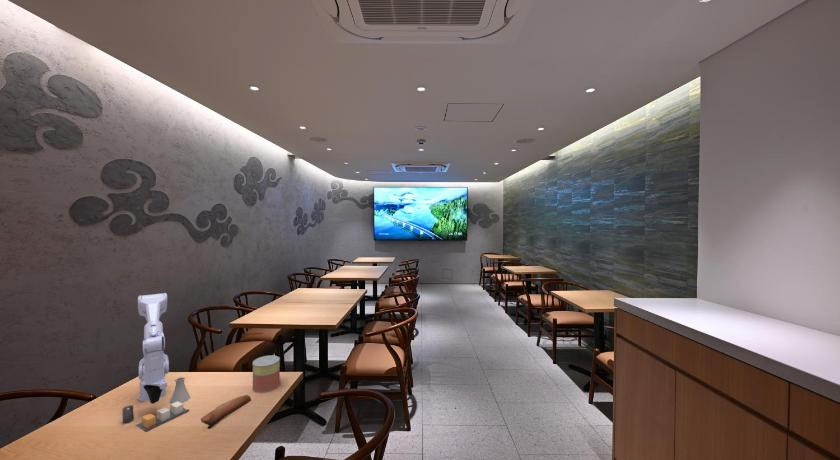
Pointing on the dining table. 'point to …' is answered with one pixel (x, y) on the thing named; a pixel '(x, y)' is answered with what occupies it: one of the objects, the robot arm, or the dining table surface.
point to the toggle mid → (163, 414)
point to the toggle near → (176, 408)
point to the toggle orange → (148, 420)
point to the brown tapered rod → (224, 410)
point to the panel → (159, 422)
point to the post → (128, 414)
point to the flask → (180, 392)
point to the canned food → (266, 373)
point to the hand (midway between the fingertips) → (154, 402)
